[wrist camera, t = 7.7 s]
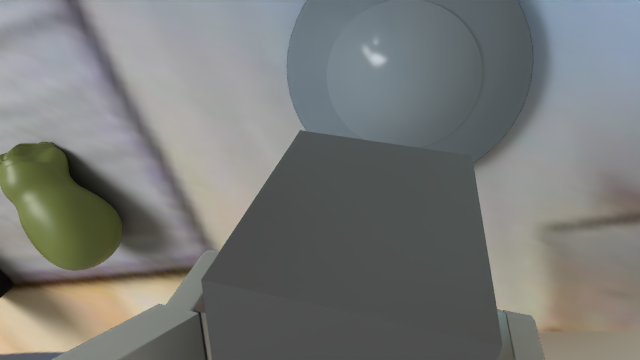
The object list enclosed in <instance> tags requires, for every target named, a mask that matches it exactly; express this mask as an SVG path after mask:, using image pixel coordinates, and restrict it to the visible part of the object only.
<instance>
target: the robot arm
mask: <svg viewBox="0 0 640 360" xmlns="http://www.w3.org/2000/svg"><path fill="white" fill-rule="evenodd" d="M218 254H219V252H217V251H212V250H208V251H206V252H205V253H203V254H202V255H201V257H200V258H199V260H198V261H197V262H196V264H195V265H194V267H193V268H192V269H191V271H190V272H189V273H188V275H187V276H186V278H185V279H184V280H183V282H182V283H181V285H180V286H179V287H178V289H177V290H176V292H175V293H174V294H173V296H172V297H171V299H170V300H169V301H168V303H167V304H166V305H162V304H158V305H156V306H154V307H152V308H150V309H148V310H146V311H144V312H142V313H140V314H138V315H137V316H135V317H133V318H131V319H129V320H127V321H125V322H123V323H121V324H119V325H117V326H115V327H113V328H111V329H110V330H108V331H106V332H104V333H102V334H100V335H98V336H96V337H94V338H92V339H90V340H88V341H86V342H85V343H83V344H81V345H79V346H77V347H75V348H73V349H71V350H69V351H67V352H65V353H63V354H61V355H60V356H58V357H56V358H54V359H52V360H212V357H211V349H210V342H209V335H208V327H207V320H206V312H205V305H204V298H203V290H202V283H201V279H202V278H203V276H204V275H205V273H206V272H207V270H208V269H209V267H210V266H211V264H212V263H213V261H214V260H215V258H216V257H217V255H218ZM497 313H498V319H499V325H500V331H501V337H502V344H503V347H502V349H501V351H500V353H499V356H498V358H497V360H545V357H544V353H543V349H542V346H541V342H540V338H539V334H538V330H537V326H536V323H535V320H534V319H533V317H532V316H530V315H525V314H520V313H515V312H510V311H505V310H503V311H502V310H499V309H497Z"/></svg>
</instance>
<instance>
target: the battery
mask: <svg viewBox="0 0 640 360" xmlns="http://www.w3.org/2000/svg"><path fill="white" fill-rule="evenodd" d="M12 286H13V285H12V282H11V281H10V280H9V279H8V278H7V277H6V276H5V275H4V274H3V273H2V272H1V271H0V298H1V297H2V296H3V295H4V294H5V293H6V292H8V291H9V290H10V289H11V288H12Z"/></svg>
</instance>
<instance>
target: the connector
mask: <svg viewBox="0 0 640 360" xmlns="http://www.w3.org/2000/svg"><path fill="white" fill-rule="evenodd" d="M201 283H202V290H203V298H204V305H205V312H206V320H207V327H208V335H209V342H210V349H211V357H212V360H497V358H498V356H499V353H500V351H501V349H502V347H503V344H502V337H501V331H500V325H499V319H498V313H497V307H496V301H495V295H494V289H493V282H492V276H491V270H490V264H489V258H488V252H487V246H486V240H485V233H484V227H483V221H482V215H481V209H480V203H479V197H478V191H477V184H476V178H475V172H474V166H473V160H472V156H471V155H464V154H458V153H451V152H444V151H437V150H430V149H424V148H417V147H410V146H403V145H397V144H390V143H383V142H376V141H369V140H363V139H356V138H349V137H342V136H335V135H329V134H322V133H315V132H308V131H302V130H300V131H299V133H298V134H297V136H296V138H295V139H294V141H293V142H292V144H291V145H290V147H289V148H288V150H287V151H286V153H285V154H284V156H283V157H282V159H281V160H280V162H279V163H278V165H277V166H276V168H275V169H274V171H273V172H272V174H271V175H270V177H269V178H268V180H267V181H266V183H265V184H264V186H263V187H262V189H261V190H260V192H259V193H258V195H257V196H256V198H255V199H254V201H253V202H252V204H251V205H250V207H249V208H248V210H247V211H246V213H245V214H244V216H243V217H242V219H241V220H240V222H239V223H238V225H237V226H236V228H235V229H234V231H233V232H232V234H231V235H230V237H229V238H228V240H227V241H226V243H225V244H224V246H223V248H222V249H221V251H220V252H219V254H218V255H217V257H216V258H215V260H214V261H213V263H212V264H211V266H210V267H209V269H208V270H207V272H206V273H205V275H204V276H203V278H202V279H201Z"/></svg>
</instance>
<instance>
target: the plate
mask: <svg viewBox="0 0 640 360" xmlns="http://www.w3.org/2000/svg"><path fill="white" fill-rule="evenodd" d="M532 67H533V51H532V41H531V36H530V31H529V27H528V24H527V21H526V18H525V15H524V13H523V10H522V9H521V7H520V5H519V3H518V1H517V0H307V2H306V3H305V5H304V6H303V8H302V10H301V12H300V14H299V16H298V18H297V20H296V23H295V25H294V28H293V31H292V34H291V38H290V43H289V48H288V56H287V79H288V86H289V91H290V96H291V99H292V102H293V105H294V108H295V110H296V113H297V115H298V117H299V119H300V121H301V123H302V124H303V126H304V128H305V129H306V131H308V132H315V133H322V134H329V135H335V136H342V137H349V138H356V139H363V140H369V141H376V142H383V143H390V144H397V145H403V146H410V147H417V148H424V149H430V150H437V151H444V152H451V153H458V154H464V155H471V156H472V160H473V163H474V162H475V161H477V160H478V159H480V158H481V157H483V156H484V155H485V154H486V153H487V152H489V151H490V150H491V149H492V148H493V147H494V146H495V145H496V144H497V143H498V142H499V141H500V140H501V139H502V138H503V137H504V136H505V134H506V133H507V132H508V130H509V129H510V128H511V126H512V125H513V124H514V122H515V120H516V118H517V116H518V115H519V113H520V111H521V109H522V107H523V104H524V102H525V99H526V97H527V94H528V90H529V86H530V82H531V76H532Z"/></svg>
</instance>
